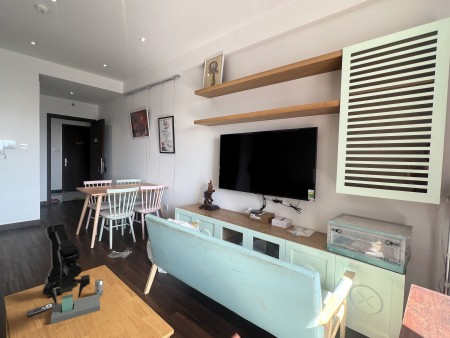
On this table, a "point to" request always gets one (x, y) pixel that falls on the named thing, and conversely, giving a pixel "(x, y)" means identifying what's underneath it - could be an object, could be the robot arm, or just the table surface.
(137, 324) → the table surface
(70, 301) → the square peg
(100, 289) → the round peg
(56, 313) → the plate
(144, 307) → the table surface
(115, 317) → the table surface
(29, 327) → the table surface
